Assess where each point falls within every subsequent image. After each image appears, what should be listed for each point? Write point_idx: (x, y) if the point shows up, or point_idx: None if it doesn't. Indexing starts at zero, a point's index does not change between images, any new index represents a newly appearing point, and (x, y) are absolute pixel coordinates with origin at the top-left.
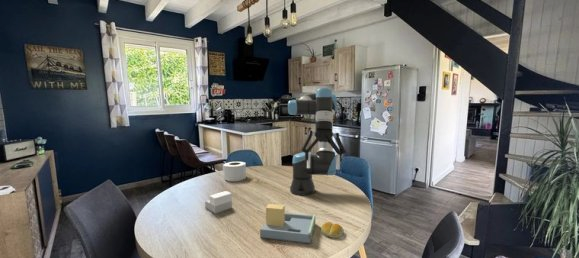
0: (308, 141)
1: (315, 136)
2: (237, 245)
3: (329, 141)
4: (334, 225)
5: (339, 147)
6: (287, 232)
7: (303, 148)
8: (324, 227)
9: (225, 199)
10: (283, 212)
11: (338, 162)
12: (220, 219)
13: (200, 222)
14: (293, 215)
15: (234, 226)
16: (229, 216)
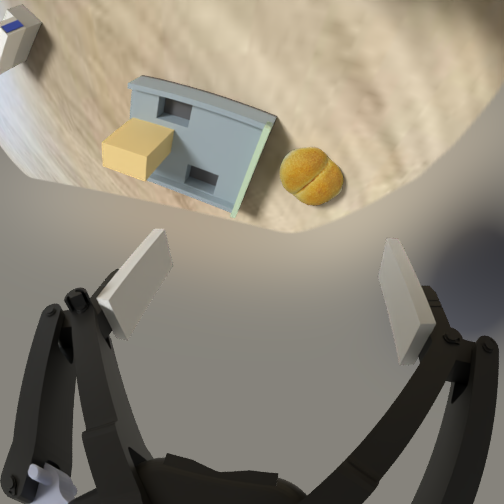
0: (66, 414)
1: (88, 492)
2: (107, 176)
3: (335, 491)
4: (313, 194)
5: (462, 406)
6: (183, 193)
7: (66, 351)
8: (285, 182)
9: (12, 47)
10: (154, 159)
11: (388, 311)
12: (42, 84)
13: (24, 100)
14: (196, 104)
15: (75, 111)
16: (50, 68)
